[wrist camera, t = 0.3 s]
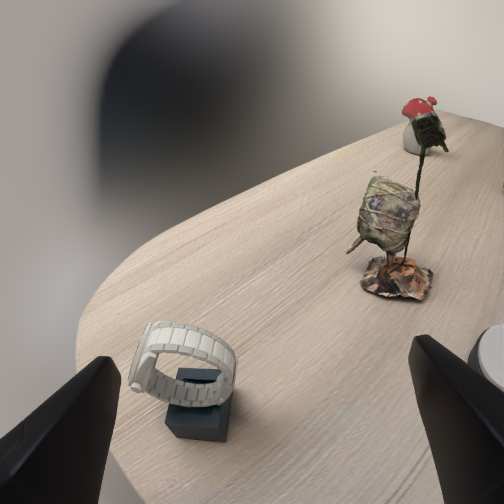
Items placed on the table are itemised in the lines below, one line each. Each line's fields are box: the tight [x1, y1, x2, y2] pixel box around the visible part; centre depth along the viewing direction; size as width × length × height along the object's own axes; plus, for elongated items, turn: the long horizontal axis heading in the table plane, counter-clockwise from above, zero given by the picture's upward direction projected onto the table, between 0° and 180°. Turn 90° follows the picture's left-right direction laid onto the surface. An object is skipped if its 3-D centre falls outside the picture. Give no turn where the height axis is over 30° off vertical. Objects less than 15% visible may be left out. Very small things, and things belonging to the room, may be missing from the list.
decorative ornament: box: [402, 97, 437, 155], centre depth 67 cm, size 9×6×15 cm
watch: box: [128, 320, 238, 442], centre depth 22 cm, size 6×8×11 cm
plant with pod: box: [346, 111, 449, 300], centre depth 31 cm, size 8×11×20 cm
